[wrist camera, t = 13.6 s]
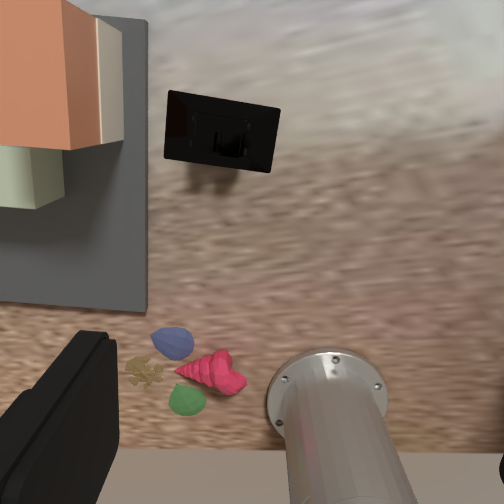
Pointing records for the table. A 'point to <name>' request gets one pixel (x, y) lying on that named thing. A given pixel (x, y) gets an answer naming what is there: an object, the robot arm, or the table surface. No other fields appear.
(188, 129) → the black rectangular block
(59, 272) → the baseplate
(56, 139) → the terracotta brick
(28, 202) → the sage brick
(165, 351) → the toy pieces
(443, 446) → the table surface
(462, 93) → the table surface
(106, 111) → the cream brick
